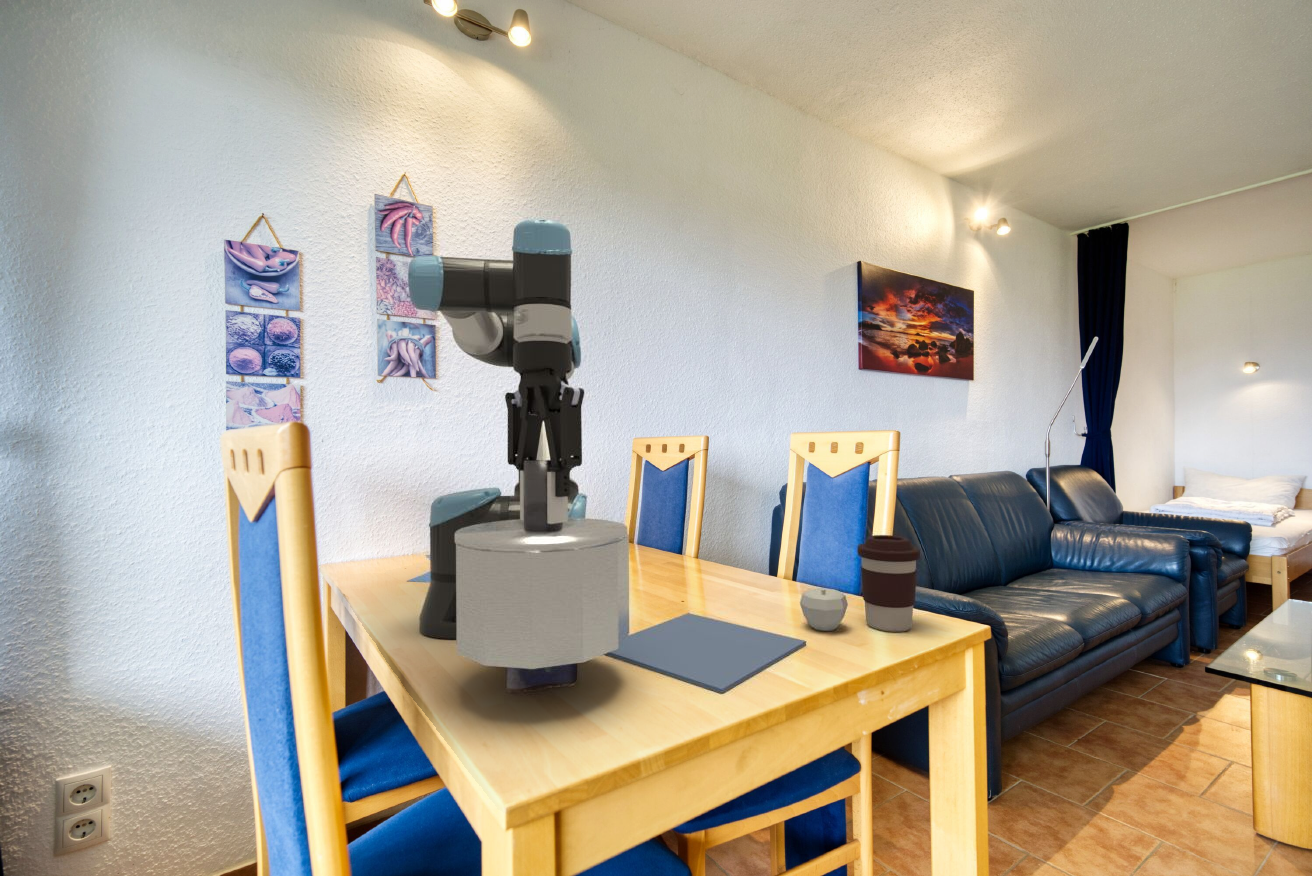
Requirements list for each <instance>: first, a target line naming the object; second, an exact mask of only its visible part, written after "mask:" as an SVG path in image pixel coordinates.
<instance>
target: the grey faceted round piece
mask: <svg viewBox="0 0 1312 876" xmlns="http://www.w3.org/2000/svg"><path fill="white" fill-rule="evenodd" d="M799 605H800V608H801V611H802V615H803V616H804V618H805V620H806V621H807V623H808V624H809V626H811V628H813V629H815V631H816V630H817V631H823V632H830V631H835V629H837V628H838V627H839V625H840V624H841V622H842V621H843V619H844V617H845V614H846V612H847V608H848V605H849V604H848V601H847V597H846V594H845V593H843V592H841V591H839V590H837V589H832V588H825V587H816V588H808V589H806V590H804V592H803V593H802V594H801V598H800V601H799Z"/></svg>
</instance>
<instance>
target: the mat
mask: <svg viewBox="0 0 1312 876" xmlns="http://www.w3.org/2000/svg"><path fill="white" fill-rule="evenodd" d="M806 645H807V640H803V639H799V638H795V637H791V636H787V635H782V634H778V633H774V632H769V631H766V630H761V629H757V628H753V627H749V626H745V625H739V624H738V623H737V624H736V623H732V622H727V621H724V620H719V619H714V618H711V617H706V616H703V615H699V614H694V613H690V612H686V613H685V614H682V615H680V616H677V617H673V618H671V619H668V620H666V621H663V622H661V623H658V624H655V625H651V626H650V627H647V628H645V629H642V630H639V631H635V632H634V633H631V634H628V636H627V637H626V639H625V640H624V642H623V643H622V644H621V646H620V647H619V649H616V650H614V651H611V652H608V653H606V654H603V656H604V655H605V656H607V657H610V658H614V659H617V660H620V661H622V662H626V663H628V664H632V665H635V666H638V667H640V668H644V669H646V670H650V671H652V672H656V673H658V674H661V675H665V676H668V677H671V678H673V679H676V680H680V681H683V682H685V683H689V684H691V685H694V686H697V687H699V688H700V687H701V688H704V689H707V690H709V691H711V692H716V693H719V694H725V693H726V692H728V691H729V690H732V689H733V688H735V687H736V686H738V685H740V684H742V683H743V682H745V681H747V680H748V679H750V678H752V677H754V676H756V675H757V674H759V673H760V672H762V671H764V670H765V669H767V668H769V667H770V666H772V665H774V664H776V663H778V662H779V661H781V660H783V659H784V658H787V656H788V657H789V655H791V654H793V653H795V652H796V651H798V650H800V649H802V648H803V647H806Z"/></svg>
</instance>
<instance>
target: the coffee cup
mask: <svg viewBox="0 0 1312 876" xmlns="http://www.w3.org/2000/svg"><path fill="white" fill-rule="evenodd" d="M857 555H858V556H859V557H860V558H861V566H860V577H861V590H862V599H863V601H864V611H865V613H864V614H865V622H866V624H867V625H868V626H869V627H871V629H872V628H873V629H875V630H879V631H884V632H888V633H891V632H892V633H901V632H906V631H909V630H911V628H912V627H913V617H914V616H913V614H914V613H913V612H914V606H915V604H916V603H915V602H916V588H917V578H918V576H917V575H918V571H917V568H916V567H917V561H918V560H920V559H921V550H920V548H919V547H918V546H914V545H913V544H912V541H911V540H910V539H909V538H908V537H904V536H898V535H889V534H874V535H869V536H867V538H866V540H865V542H864V543H860V544H858V545H857Z"/></svg>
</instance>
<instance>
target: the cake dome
mask: <svg viewBox="0 0 1312 876" xmlns="http://www.w3.org/2000/svg"><path fill="white" fill-rule="evenodd" d="M549 467H552V466H551V460H523V473H524V520H520V519H516V520H504V521H496V522H488V523H482V524H476V525H472V526H468V527H464V528H461V529H459V530H457V531H456V532H455V544H456V638H455V639H456V654H457V655H459V656H461V657H464V658H466V659H468V660H470V661H473V662H475V663H478V664H480V665H482V666H487V667H488V666H489V667H498V668H500V667H501V668H507V667H512V668H526V669H536V668H543V667H551V666H559V665H566V664H574V663H578V664H579V663H585V662H587V661H591V660H592V659H595V658H598V657H601V656H604V654H606V653H608V652H611V651H614V650H616V649H619V647H620V646H621V644H622V643H623V642H624V640H625V639H626V637H627V636H628V635H630V538H629V537H630V535H629V533H628V526H627V525H626V524H624V523H621V522H618V521H612V520H608V519H601V518H600V519H597V518H587V517H585V518H568V522H561V523H554V524H548V523H547V472H549V471H548V470H547V468H549Z"/></svg>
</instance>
